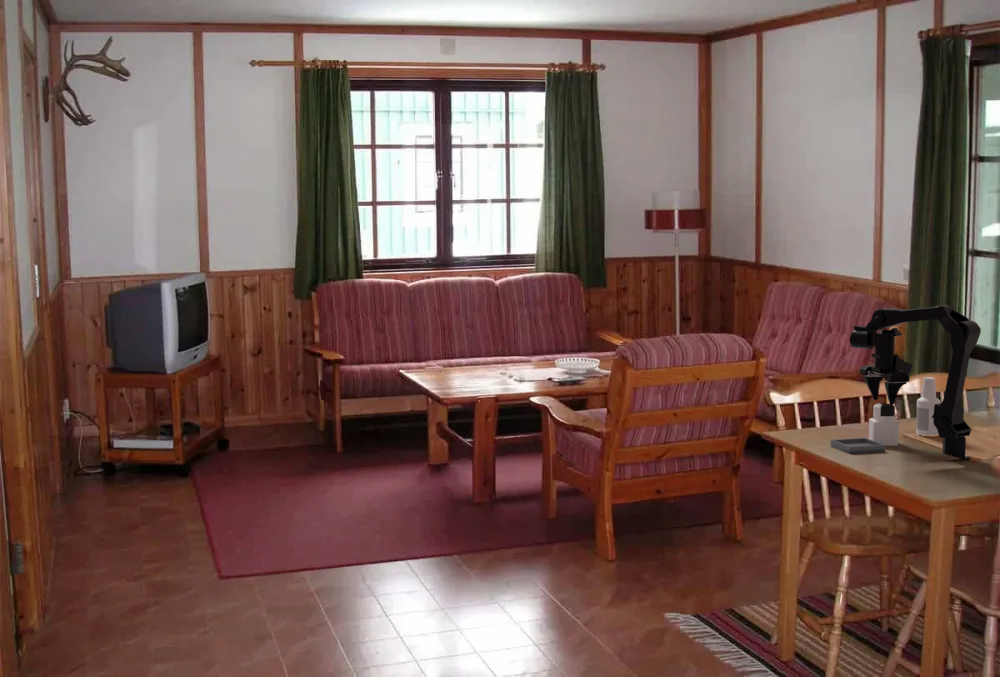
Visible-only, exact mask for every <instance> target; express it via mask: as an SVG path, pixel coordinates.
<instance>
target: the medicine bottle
mask: <svg viewBox="0 0 1000 677" xmlns="http://www.w3.org/2000/svg"><path fill="white" fill-rule="evenodd" d="M895 410H896V407H895V405H894V404H893V405H890V403H884V402H882V403H879V402H878V403H876V404H874V405H873V413H872V414H873V416H872V417H871V418H869V420H868V439H870V440H873V441H876V442H878V443H881V444H884V445H885V447H898V446H899V427H900V426H899V422H898V420H896V419H895V418H896V417H895V414H896V413H895V412H896V411H895Z"/></svg>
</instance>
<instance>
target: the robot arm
mask: <svg viewBox="0 0 1000 677" xmlns="http://www.w3.org/2000/svg"><path fill="white" fill-rule="evenodd" d="M930 320H938V321H939V322H940V324H941V326H942V327H943V329H944V330H945V331H946V332H948V333H949V343H950V344H949V345H950V347H951V352H952V353H951V357H950V358H951V359H950V363H949V368H948V372H947V373H948V374H947V378H946V379H947V380H946V383H945V384H946V385H945V389H944V394H943V399H942V401H940V403H939V404H935V406H934V414H933V416H932V418H934V419H933V423H934V425H935V427H936V428H937V431H938V434H939V436H938V437H939V438H941V439H942V452H941V453H943V454H944V455H946V456H947V455H948V456H951V457H954V458H957V459H958V460H970V459H971V457H969V456H967V455H966V450H967V449H966V446H967V443H966V442H967V438H966V437H970V435H971V433H972V427H970V425H969V424H968V423H967V422H966V421H965V420H964V414H965V412H964V408H963V404H962V403H963V402H962V399H963V393H964V387H965V382H966V376H967V372H968V367H969V361H970V355H971V353H972V351H973V350H974V348H975V347H976V346H977V343H978V341H979V339H980V335H981V332H982V330H981V327H980V326H979V324H978V323H977V322H976V321H974V320H970V319H969V318H968V317H967V316H965V315H963V314H962V313H960V312H958V311H956V310H955V309H954V308H953V307H951V306H950V305H948V304H943V305H937V306H931V307H923V308H913V309H904V308H895V307H888V308H887V307H885V308H879V309H876V310H874V311H873V313H872V316H871V319H870V321H869V322H868V323H867V325H866V326H863V325H854V326H853V330H852V331H851V334H850V337H849V344H850V346H851V347H852V348H854V349H863V350H872V349H874V353H873V352H872V353H871V357H872V358H873V359H874V360H873V361H874V363H873V364H870V365H869V364H868V365H862V366H861V367H860V368H859V375H860V376H862V379H863V380H864V383H865V384H866V386H867V388H868V390H869V393H870V395H871V397H872V399H873V401H878V400H879V399H878V398H879V393H880V384H881V381H882V380H883V379H884V382H883V383H884V387H885V392H886V396H887V400H888V402H889V403H888V404H890V405H894V404H895V402H896V399H897V397H898V393H899V391H900V390H901V388H902V387H903V386H904V385H906V384H907V383H908V382H910V378H911V377H910V376H911V373H912V369H913V367H914V364H913V363H910V362H907V361H905V360H903V358H902V357H899V355H898V354H897V353H896V352H895V351H896V337H901V336H903V333H902V332H901V331H900V330H899V329H898V328H897V327H896V326H901V325H904V324H906V323H909V322H911V323H913V322H922V321H923V322H924V321H930ZM892 327H893V328H892ZM887 328H891V329H887ZM878 331H880V332H878Z"/></svg>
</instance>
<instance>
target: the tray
mask: <svg viewBox="0 0 1000 677" xmlns="http://www.w3.org/2000/svg"><path fill="white" fill-rule="evenodd" d="M830 448H834V449H836V450H838V451H842V452H844V453H847V454H869V453H872V454H873V453H885V452H886V446H885V445H884V444H881V443H878V442H876V441H873V440H870V439H869V438H867V437H860V438H859V437H857V438H856V437H855V438H842V439H841V438H837V439H830Z"/></svg>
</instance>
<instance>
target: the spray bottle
mask: <svg viewBox="0 0 1000 677" xmlns="http://www.w3.org/2000/svg"><path fill="white" fill-rule="evenodd" d="M936 385H937V384H936V378H935V377H929V376H926V377H923V382H922V385H921V387H922V389H921V390H922V391H921V397H919V398H918V399H917V400H916V423H915V424H916V426H915V428H916V430H915V431H916V432H915V433H917V434H921V435H923V434H924V435H936V434H938V431H937V428H936V427H935V425H934V423H933V419H934V418H932V416H933V414H934V406H935V404H939V403H941V400H940V399H939V398H938V397H937V391H936V390H937V387H936ZM917 434H916V435H917Z"/></svg>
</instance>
